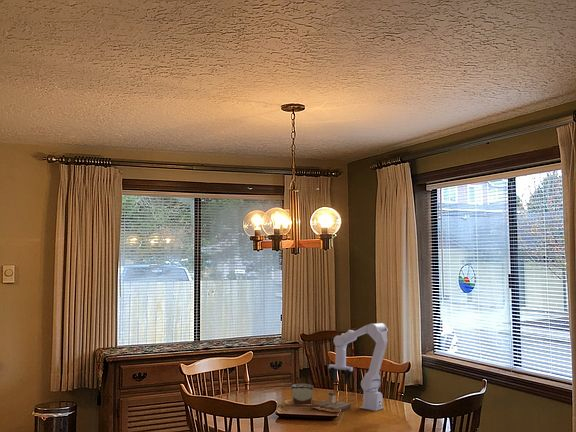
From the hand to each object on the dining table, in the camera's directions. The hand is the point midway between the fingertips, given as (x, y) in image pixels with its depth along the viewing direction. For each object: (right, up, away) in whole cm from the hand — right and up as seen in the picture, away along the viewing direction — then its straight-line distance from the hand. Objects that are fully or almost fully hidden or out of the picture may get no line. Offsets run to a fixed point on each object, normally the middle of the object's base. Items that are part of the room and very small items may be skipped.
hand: (340, 383), depth 326 cm
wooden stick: (-6, -8, -18) cm, 21 cm away
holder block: (-6, -8, -18) cm, 21 cm away
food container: (-21, -9, -8) cm, 24 cm away
